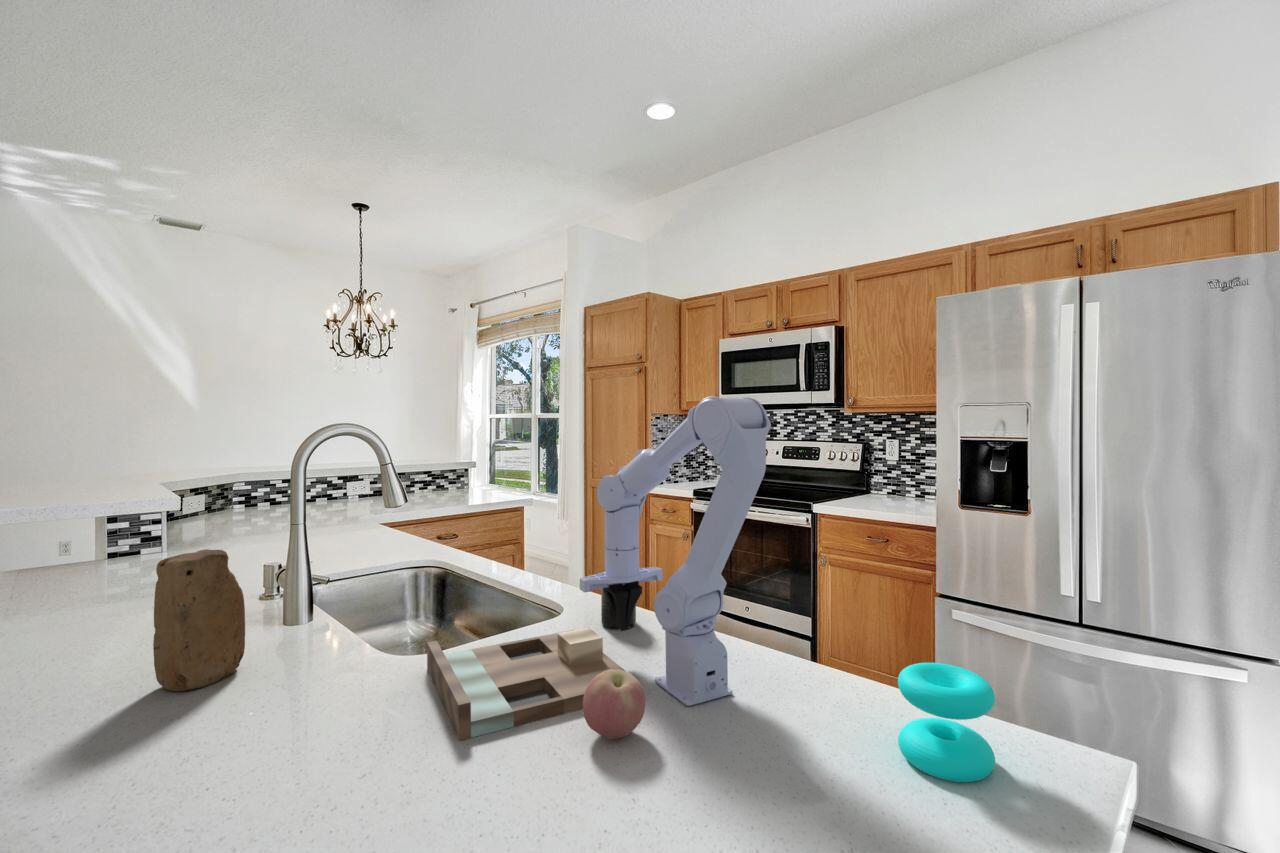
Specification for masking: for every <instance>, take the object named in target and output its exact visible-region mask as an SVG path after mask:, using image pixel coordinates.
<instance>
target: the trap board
mask: <svg viewBox="0 0 1280 853" xmlns="http://www.w3.org/2000/svg"><path fill="white" fill-rule="evenodd" d="M573 630H574V629H572V630H570V631H573ZM567 631H568V630H567ZM567 631H564V632H567ZM562 632H563V631H561V632H555V633H551V634H544V635H539V636H535V637H530V638H523V639H519V640H513V641H508V642H502V643H498V644H491V645H486V646H482V647H476V648H470V649H465V650H460V651H455V652H449V653H444V652H443V650H442V648H441V646H440V644H439V642H438V640H432V641H427V642H426V659H427V660H426V663H427V664H426V666H427V672H428V675H429V677H430V679H431V681H432V684H433V685H434V688H435V690H436V693H437V695H438V697H439V699H440V701H441V704H442V706H443V707H444V710H445V713H446V715H447V717H448V720H449V723H450V724H451V726H452V728H453V730H454V732H455V735H456V737H457V740H458V741H460V742H461V741H463V740H467V739H472V738H474V737H475V738H476V737H478V736H483V735H486V734H492V733H494V732H499V731H502V730H506V729H510V728H515V727H518V726H522V725H526V724H529V723H530V724H531V723H533V722H534V723H535V722H536V721H542V720H545V719H549V718H553V717H555V716H556V717H557V716H561V715H564V714H568V713H572V712H576V711H579V710H583V697H584V694H585V691H586V688H587V686H588V685H589V683H590V682H591V681H592V679H594V678H595V677H596V676H597V675H598V674H600V673H602V672H604V671H606V670H610V669H619V670H624V671H626V670H625V669H624V668H623V667H621V665H619V664H618V663H616V662H615V661H614V660H613V659H612V658H611V657H609V656H608V655H607V654H605V653H604V652H603V660H600V661H595V662H591V663H586V664H582V665H577V666H573V667H570V666H569V665H568V664H567V663H566V662H565V661H564V660H563V659H562V658H561V657H559V656H558V633H562Z"/></svg>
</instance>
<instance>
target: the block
mask: <svg viewBox="0 0 1280 853" xmlns="http://www.w3.org/2000/svg"><path fill="white" fill-rule="evenodd" d="M155 569H156V571H155V572H156V575H157V581H156V583H155V588H154V604H153V605H154V606H153V627H154V635H153V644H152V645H153V647H152V649H153V664H154V665H153V667H154V671H155V679H156V681H157V682H158V684H159V686H161V687H163V688H164V689H166V690H168V691H171V692H181V691H182V692H183V691H190V690H197V689H200V688H204V687H207V686H209V685H211V684H214V683H216V682H218V681H220V680H221V679H222V678H226V677H228V676H229V675H231V674H233V673H234V672H236V670H237V668H238V667H239V666H240V663H241V661H242V660H243V657H244V654H245V649H246V648H245V647H246V610H245V609H246V606H245V599H244V598H245V597H244V596H245V595H244V593H243V589H242V588H241V587H240V584H239V582H238V581H237V577H236V576H235V574H234V573H233V572H232V571H230V569H229V555H228V553H227V551H225V550H223V549H202V550H201V549H200V550H197V551H195V552H186V553H181V554H178V555H173V556H169V557H166V558H163V559H161V560H160V561H159V562H158V563H157V565H156V568H155Z"/></svg>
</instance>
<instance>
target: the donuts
mask: <svg viewBox="0 0 1280 853" xmlns="http://www.w3.org/2000/svg"><path fill="white" fill-rule="evenodd" d="M897 677H898V678H897V686H898V689H899V691H900V693H901V695H902V696H903V698H904V699H905V700H906V701H908V703H910V704H911V705H912V706H914V707H915V708H917V709H919V710H921V711H922V712H924V713H927V714H929V715H933V716H934V717H924V718H917V719H914V720H911V721H910V722H907V723H906V724H904V725H903V727H902V728H901V729H900V731H899V734H898V737H897V739H898V740H897V742H898V743H897V744H898V747H899V750H900V752H901V753H902V755H903V757H904V758H905V759H906V760H907V761H908V762H909V763H910V764H911V765H912V766H914V767H915V768H916V769H918V770H920V771H922V772H923V773H925V774H927V775H930V776H932V777H935V778H938V779H941V780H945V781H949V782H958V783H971V782H978V781H980V780H983V779H985V778H987V777H988V776H990V774H991V773H992V772H993V771H994V768H995V766H996V757H995V753H994V751H993V748H992V746H991V745H990V744H989V742H988V741H987V740H986V739H985V738H984V737H983V736H982V735H981V734H980V733H978V732H977V731H975V730H974V729H972V728H970V727H968V726H967V725H964V724H961V723H959V722H956V720H959V721H961V720H962V721H963V720H965V721H966V720H973V719H978V718H981V717H982V716H985V715H986V714H988V713H989V712H991V710H992V709H993V707H994V706H995V705H994V704H995V702H996V696H995V692H994V689H993V688H992V686H991V684H989V682H988V681H987V680H986V679H985V678H984V677H982V676H980V675H979V674H977V673H975V672H973V671H971V670H969V669H967V668H964V667H960V666H957V665H952V664H948V663H942V662H941V663H940V662H919V663H914V664H913V663H912V664H911V665H908V666H906V667H904V668H903V669H901V671H900V672H899V674H898V676H897ZM936 717H939V718H936ZM953 720H955V721H953Z"/></svg>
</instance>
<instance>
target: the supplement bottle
mask: <svg viewBox="0 0 1280 853" xmlns="http://www.w3.org/2000/svg"><path fill="white" fill-rule="evenodd" d="M600 590H601V592H600V593H601V594H600V595H601V599H600V600H601V606H600V607H601V609H600V610H601V613H600V617H601V625H602V626H603V627H606V628H608V629H611V630H613V629H614V630H619V629H618V628H617V627H616V622H615V618H614V614H613V611H612V608H611V605H610V602H609V600H608V598H607V596H606V594H605V592H604V591H603V588H602V589H600ZM636 620H637V604H636V605H635V608H634V610H633V613H632V617H631V621H630V625H629V628H632V627H634V626H635V624H636Z"/></svg>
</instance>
